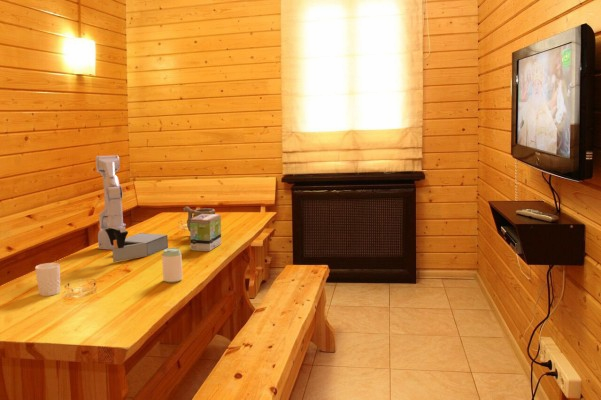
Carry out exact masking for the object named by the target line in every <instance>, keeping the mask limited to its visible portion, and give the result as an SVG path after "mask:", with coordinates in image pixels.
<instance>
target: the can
mask: <svg viewBox="0 0 601 400" xmlns="http://www.w3.org/2000/svg"><path fill="white" fill-rule="evenodd" d="M161 261H162V280H163V281H164V282H165V283H169V284H170V283H171V284H173V283H178V282H180V281H181V280H183V261H182V252H181V250H180V248H177V247H168V248H166V249H163V252H162V253H161Z"/></svg>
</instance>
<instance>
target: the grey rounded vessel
mask: <svg viewBox="0 0 601 400" xmlns="http://www.w3.org/2000/svg"><path fill="white" fill-rule="evenodd" d="M182 210H183V212H187V219H186V220H187V221H186V228H187V229H188V231H189V232H190V219H192V218H194V217H196V216H199V215H201V214H216V210H215V209H214V208H207V207H204V208H197V209H191V208H190V207H189V206H185V207H183V209H182Z"/></svg>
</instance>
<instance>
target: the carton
mask: <svg viewBox="0 0 601 400" xmlns="http://www.w3.org/2000/svg"><path fill="white" fill-rule="evenodd" d="M144 242H146V243H147V256H146V257H149V256H151V255H154V254H156V253H159V252H161V251H164V250H165V249H168V248H169V239H168V235H167V234H159V233H145V232H144V233H143V232H139V233H136V234H133V235H131V236H128V237H127V236H126V239H125V243H124V246H127V245H133V244H138V243H144ZM158 251H159V252H158Z"/></svg>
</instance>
